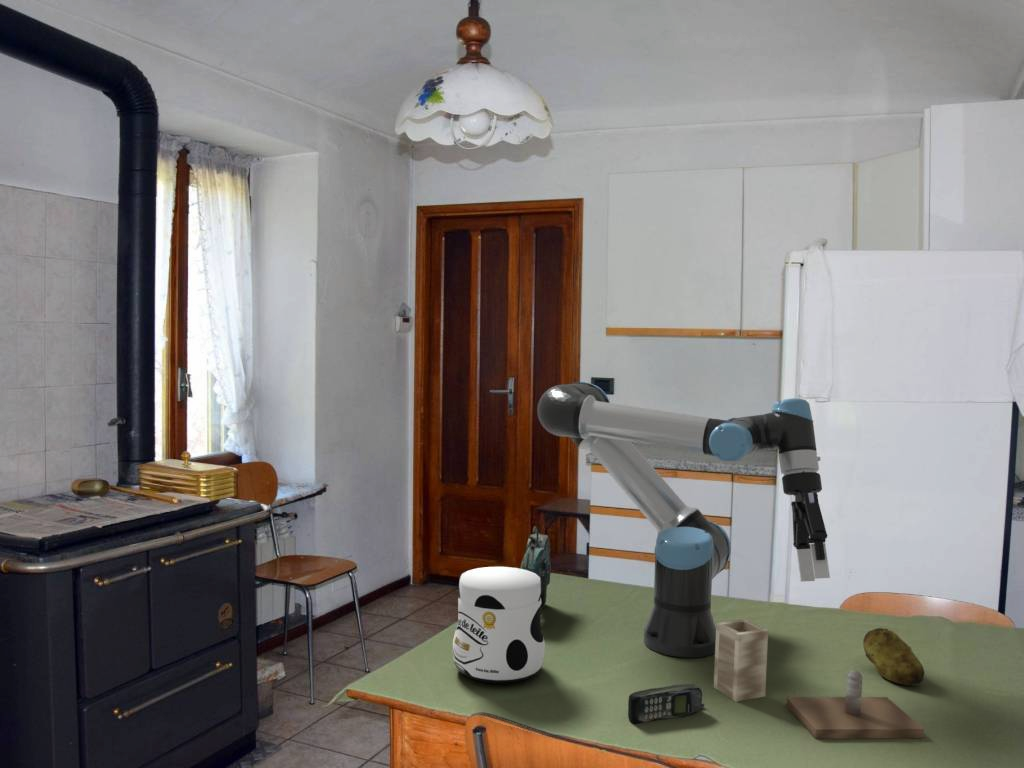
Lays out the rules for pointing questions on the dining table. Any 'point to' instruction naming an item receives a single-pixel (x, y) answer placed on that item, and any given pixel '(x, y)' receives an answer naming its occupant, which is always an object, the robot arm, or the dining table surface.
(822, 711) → the flat brown rectangular board
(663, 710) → the mobile phone
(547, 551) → the green statue
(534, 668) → the doce de leite jar
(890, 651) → the potato
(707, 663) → the dining table surface
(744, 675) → the wooden pencil cup
